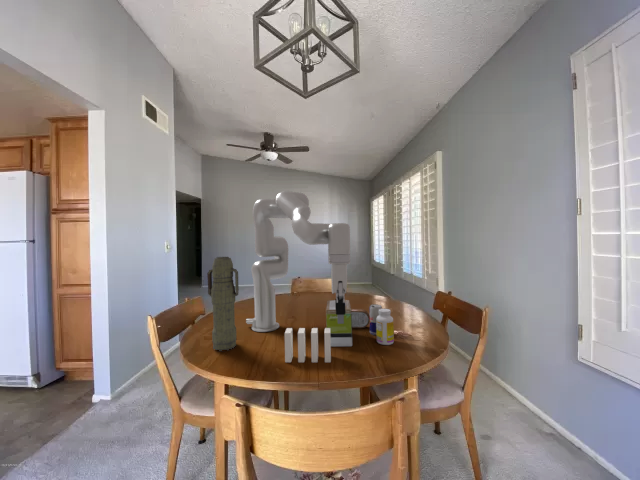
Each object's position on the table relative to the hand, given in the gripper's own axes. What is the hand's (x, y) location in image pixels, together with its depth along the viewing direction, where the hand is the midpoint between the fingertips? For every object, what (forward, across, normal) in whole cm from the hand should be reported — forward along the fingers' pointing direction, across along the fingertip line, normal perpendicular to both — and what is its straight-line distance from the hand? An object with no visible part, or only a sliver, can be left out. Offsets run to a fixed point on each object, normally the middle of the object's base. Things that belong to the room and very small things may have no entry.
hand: (340, 311), depth 97 cm
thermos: (+17, -11, -45) cm, 49 cm away
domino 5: (+3, 0, 0) cm, 3 cm away
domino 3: (+16, 0, -9) cm, 19 cm away
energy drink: (+17, -25, +16) cm, 34 cm away
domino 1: (+16, 0, -18) cm, 24 cm away
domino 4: (+16, 0, -5) cm, 17 cm away
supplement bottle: (+17, -15, +18) cm, 29 cm away
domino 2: (+16, 0, -14) cm, 21 cm away
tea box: (+17, -18, 0) cm, 25 cm away
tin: (+17, -33, +7) cm, 38 cm away
